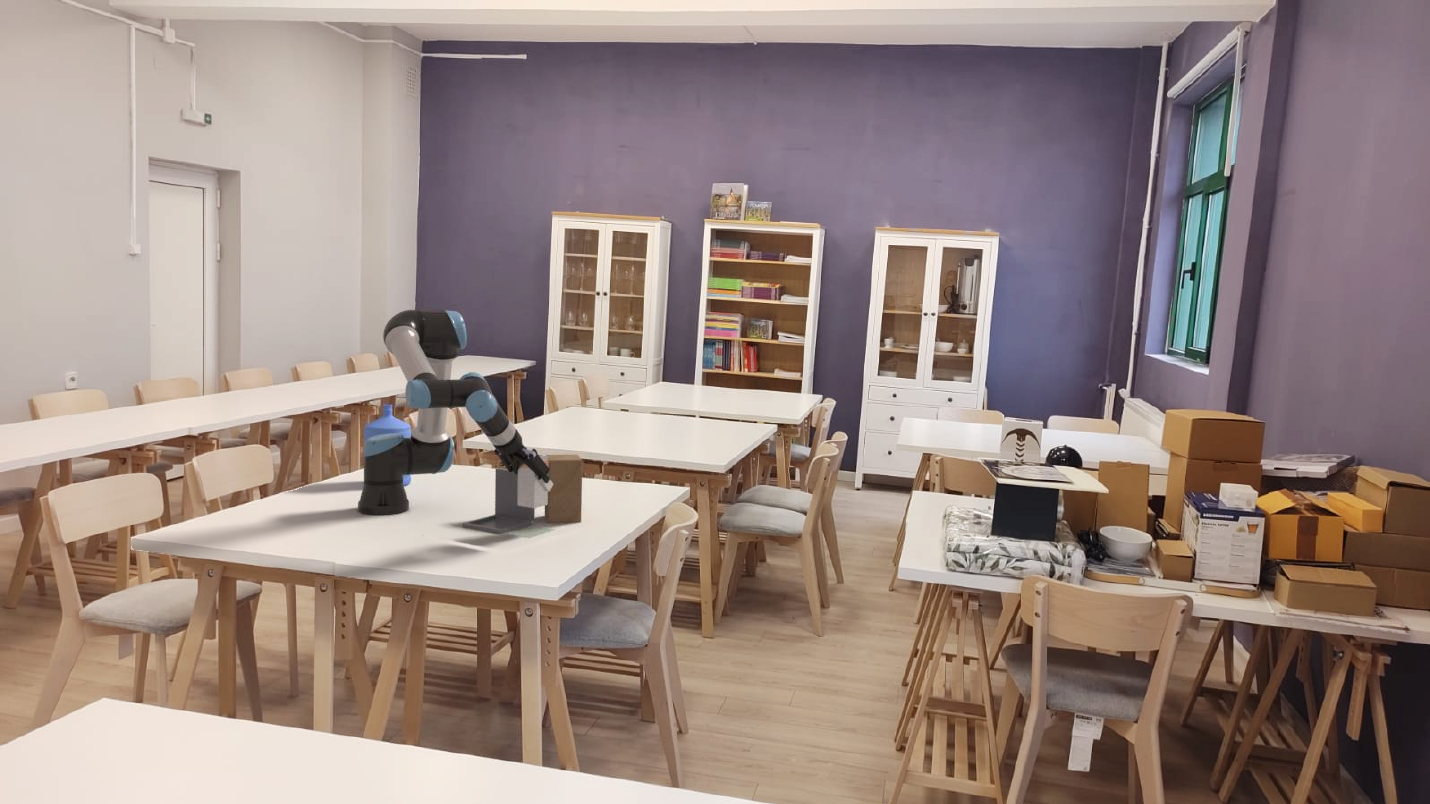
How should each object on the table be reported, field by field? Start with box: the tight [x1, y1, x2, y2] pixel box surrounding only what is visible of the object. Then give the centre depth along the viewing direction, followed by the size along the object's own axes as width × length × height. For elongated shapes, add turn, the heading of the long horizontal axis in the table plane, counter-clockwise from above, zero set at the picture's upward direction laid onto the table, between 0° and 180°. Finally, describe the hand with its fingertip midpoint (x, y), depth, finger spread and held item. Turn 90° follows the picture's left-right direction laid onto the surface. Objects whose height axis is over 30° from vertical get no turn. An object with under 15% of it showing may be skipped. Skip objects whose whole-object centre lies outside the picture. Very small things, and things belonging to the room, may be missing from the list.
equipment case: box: [462, 467, 536, 535], centre depth 289 cm, size 14×15×16 cm
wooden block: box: [544, 454, 583, 524], centre depth 300 cm, size 10×10×20 cm
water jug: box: [363, 403, 412, 487], centre depth 346 cm, size 16×16×28 cm
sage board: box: [506, 525, 556, 539], centre depth 284 cm, size 8×12×1 cm, turn 152°
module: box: [517, 454, 549, 509], centre depth 282 cm, size 6×6×14 cm
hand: (540, 486), depth 285 cm, fingers closed on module, 6 cm apart
